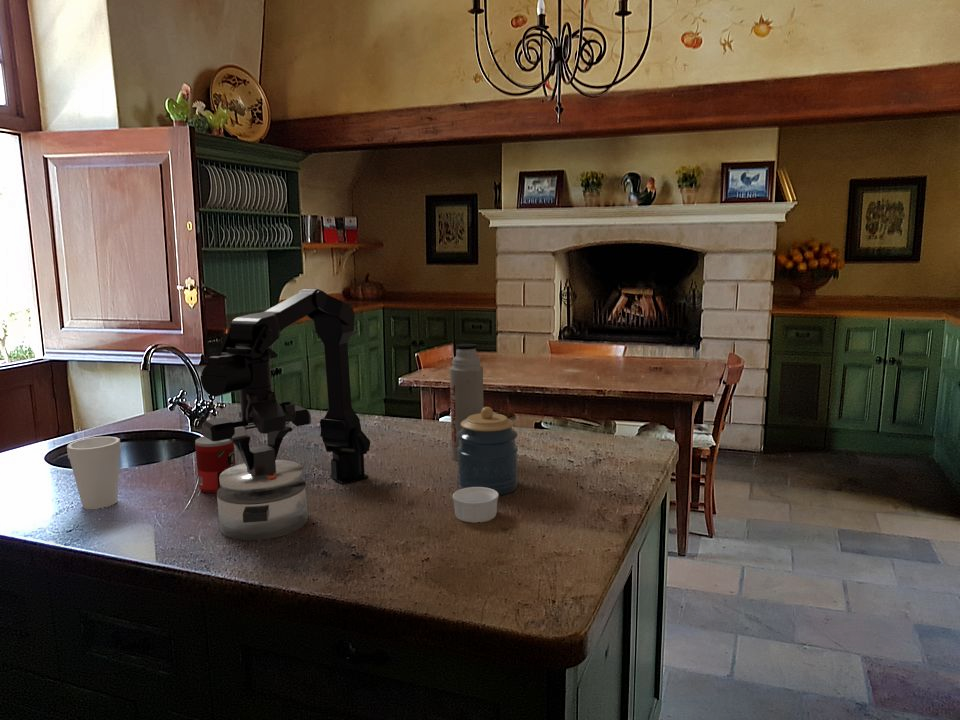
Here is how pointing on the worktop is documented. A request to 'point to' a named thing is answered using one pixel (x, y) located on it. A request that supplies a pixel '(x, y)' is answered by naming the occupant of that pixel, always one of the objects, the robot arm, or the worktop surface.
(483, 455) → the canister
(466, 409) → the thermos bottle
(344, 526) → the worktop surface
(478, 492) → the ramekin
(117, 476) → the foam cup
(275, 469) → the lid
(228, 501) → the pot
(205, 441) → the canned food
